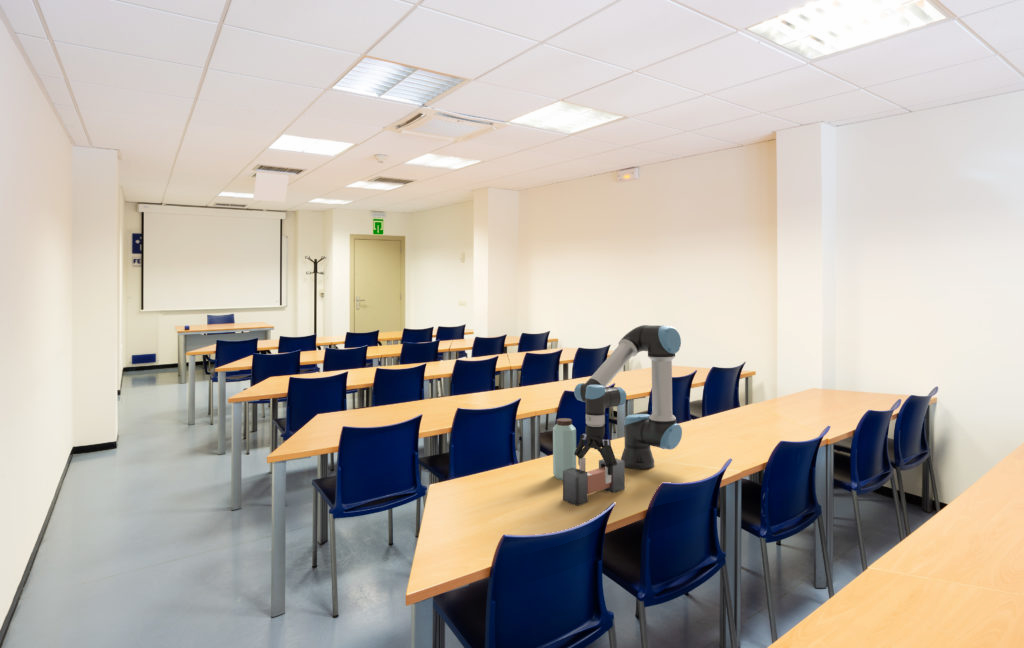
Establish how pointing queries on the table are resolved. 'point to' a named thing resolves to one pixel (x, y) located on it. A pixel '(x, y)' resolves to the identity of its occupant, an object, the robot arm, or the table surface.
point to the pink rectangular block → (596, 480)
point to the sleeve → (616, 476)
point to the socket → (575, 486)
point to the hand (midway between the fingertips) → (595, 478)
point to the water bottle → (563, 447)
